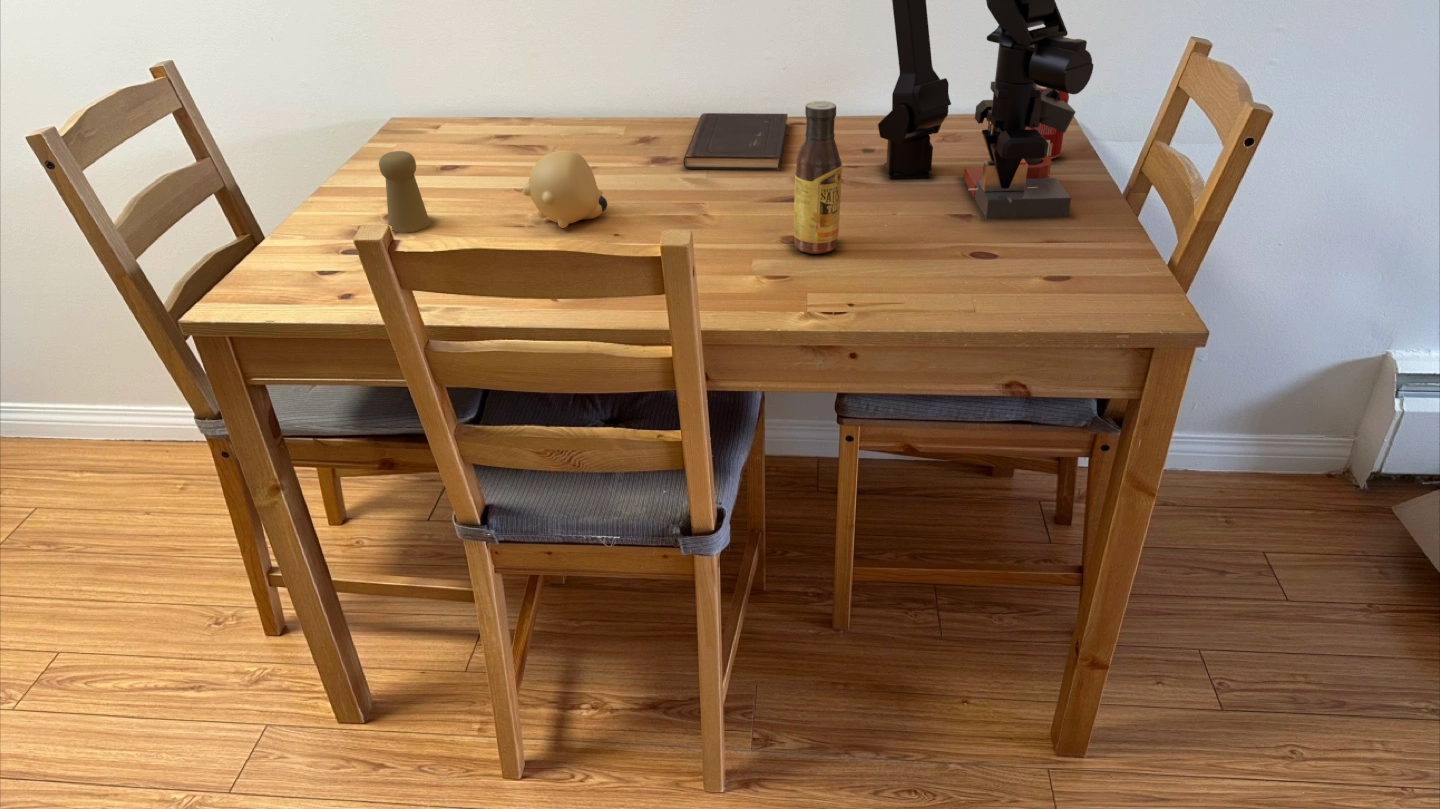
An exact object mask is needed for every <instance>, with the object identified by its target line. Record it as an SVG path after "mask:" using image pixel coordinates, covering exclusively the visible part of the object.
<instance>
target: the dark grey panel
mask: <svg viewBox="0 0 1440 809" xmlns="http://www.w3.org/2000/svg"><path fill="white" fill-rule="evenodd" d="M981 183H982V180H977V182H976V189H969V188H967V191H968V192H969V191H970V192H971V191H972V190H976V191H975V197H974V200H975V202H976V204H977V205H978V207H979V209H980V211H981V212H982V214H983V216H984V218H985V219H986V220H987V219H988V220H989V219H990V220H991V219H1024V218H1025V219H1026V218H1027V219H1028V218H1030V219H1031V218H1058V217H1059V218H1062V217H1063V218H1064V217H1069V213H1070V206H1071V203H1072V202H1071V201H1072V196H1070V194H1069V192H1067V191H1066V189H1065V188H1064V187H1063V185H1062V184H1061V183H1060V182H1059V180H1058V178H1057V177H1050V178H1042V179H1026V183H1025V190H1024V191H992V192H984V191H983V189H982V188H981Z"/></svg>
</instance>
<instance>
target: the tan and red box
mask: <svg viewBox="0 0 1440 809" xmlns="http://www.w3.org/2000/svg"><path fill="white" fill-rule="evenodd" d="M982 167H983V174H982V183H981V188H982V189H983V191H984V192H992V191H1024V190H1025V183H1026V176H1027V168H1028V164H1027V162H1026V161H1025V160H1024V159H1022V160H1021V162H1020V164H1019V166H1018V169H1017V171H1016V173H1015V175H1014V178H1013V180H1012V182H1011V185H1010V187H1009V188H1007V189H1002V188H1001V185H1000V181H999V178H998V173H997V169H996V165H995V161H991V160H984V161H983V165H982Z"/></svg>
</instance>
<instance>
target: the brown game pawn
mask: <svg viewBox="0 0 1440 809" xmlns="http://www.w3.org/2000/svg"><path fill="white" fill-rule="evenodd" d="M378 168H379V172H380V173H381V174H380V175H381V176H383V178H385V193H386V205H387V207H386V208H387V222H388V226H389V225H390V226H392V229H393V231H392V232H393V233H399V234H408V233H415V232H418V231H422V230H424V229H426V228H427V227H428V226H430V224H431V222H430V219H429V218H430V217H429V216H428V212H427V210H426V206H425V203H424V201H423V197H422V194H421V191H420V188H419V185H418V182H417V179H416V176H415V173H416V171H417V162H416V159H415V157H414V156H413V154H412V153H410V152H408V151H405V150H396V151H389V152H386V153H384V154H383V155H381V157H380V158H379V161H378Z"/></svg>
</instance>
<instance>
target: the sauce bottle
mask: <svg viewBox="0 0 1440 809" xmlns="http://www.w3.org/2000/svg"><path fill="white" fill-rule="evenodd" d="M804 111H805V112H804V113H805V118H806V119H805V120H806V122H805V134H804V135H805V139H804V141H803V143H802V144H801V145H800V147H799V149H798V151H797V155H796V163H795V164H796V165H795V166H796V167H795V173H794V203H793V237H794V247H795V249H797V250H798V251H799V252H802V253H806V254H811V255H814V254H815V255H816V254H817V255H818V254H826V253H829V252H833V251H834V250H835V248H836V247H837V243H838V238H839V236H840V235H839V234H840V216H841V215H840V211H841V195H842V194H841V193H842V192H841V191H842V174H843V163H842V160H841V157H840V153H839V150H838V146H837V142H836V139H835V136H836V135H835V119H836V117H837V105H836V104H835V103H834V102H832V101H825V100H818V101H811V102H807V103H806V104H805V110H804Z"/></svg>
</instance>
